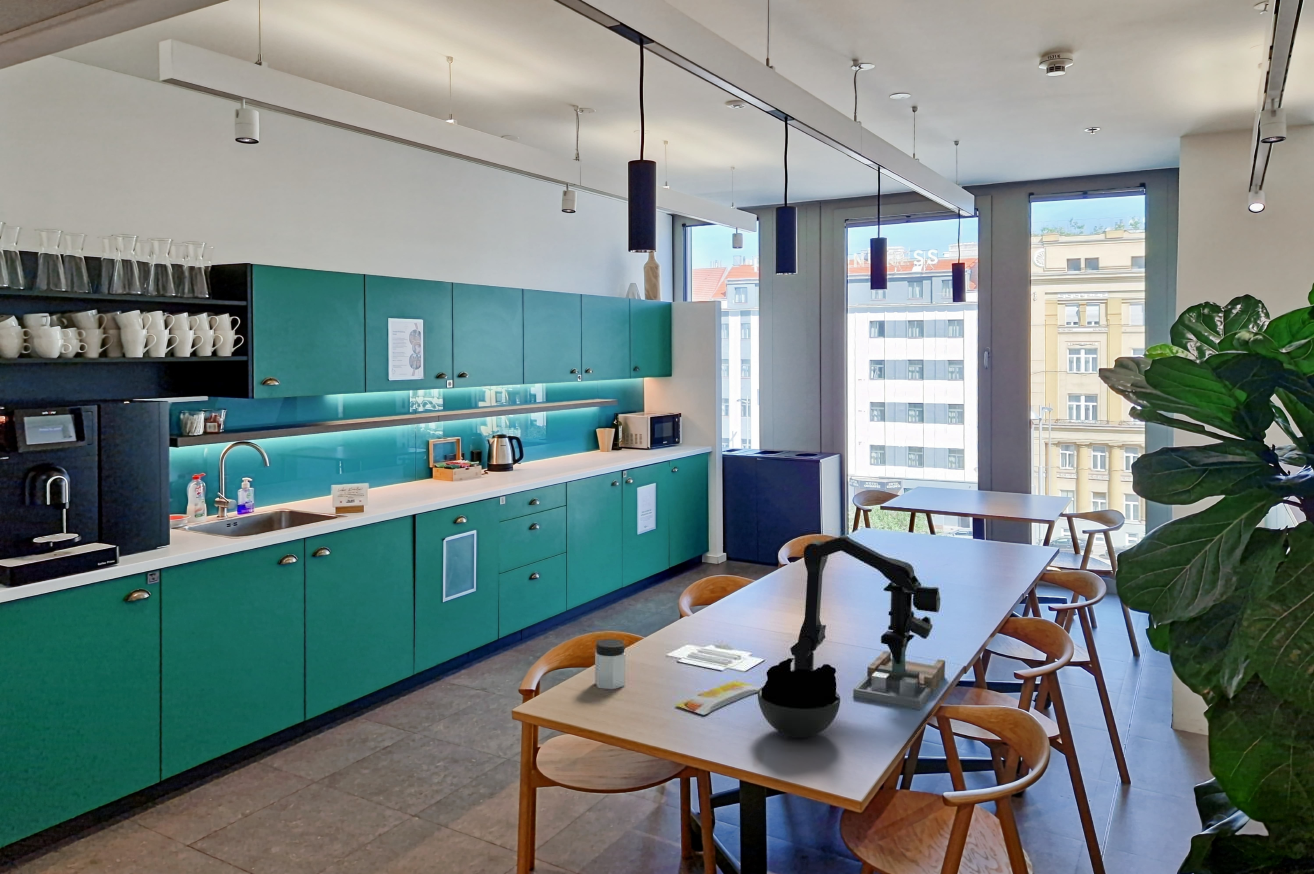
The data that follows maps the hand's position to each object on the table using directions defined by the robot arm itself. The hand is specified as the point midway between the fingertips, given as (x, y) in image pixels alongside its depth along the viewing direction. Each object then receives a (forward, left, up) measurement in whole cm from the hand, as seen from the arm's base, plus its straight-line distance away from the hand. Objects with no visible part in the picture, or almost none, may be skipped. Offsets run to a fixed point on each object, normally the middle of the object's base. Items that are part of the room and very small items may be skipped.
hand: (899, 662), depth 253 cm
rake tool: (0, 0, -5) cm, 5 cm away
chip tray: (-7, 0, -8) cm, 11 cm away
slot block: (+9, 0, -8) cm, 12 cm away
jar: (-39, +72, -8) cm, 82 cm away
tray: (-1, +57, -9) cm, 58 cm away
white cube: (-2, +4, -5) cm, 7 cm away
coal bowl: (-46, +13, -8) cm, 48 cm away
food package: (-33, +40, -9) cm, 52 cm away
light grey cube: (-2, -4, -5) cm, 7 cm away
